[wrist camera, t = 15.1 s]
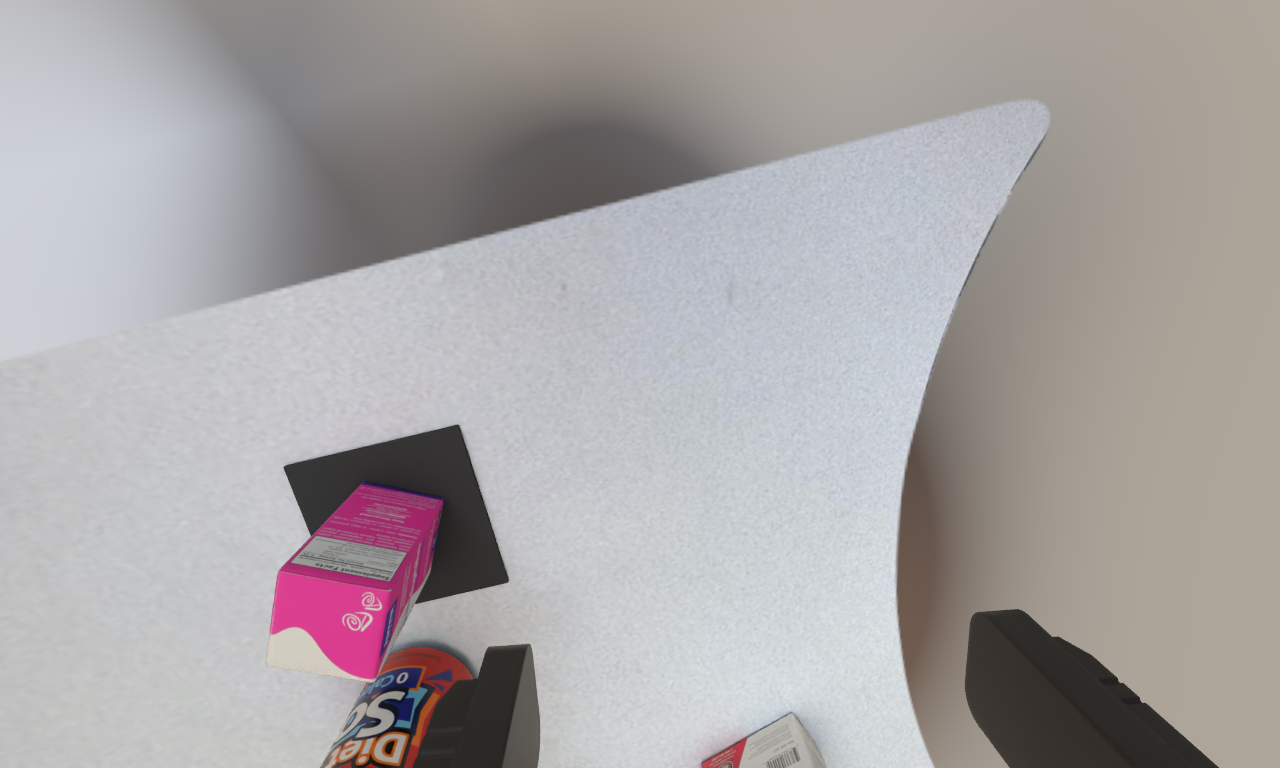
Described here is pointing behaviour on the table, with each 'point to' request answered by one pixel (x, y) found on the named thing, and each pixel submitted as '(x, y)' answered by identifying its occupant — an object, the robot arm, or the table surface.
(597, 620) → the table surface
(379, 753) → the soda can
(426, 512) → the supplement box
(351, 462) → the felt pad
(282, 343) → the table surface
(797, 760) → the ink box
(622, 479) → the table surface
